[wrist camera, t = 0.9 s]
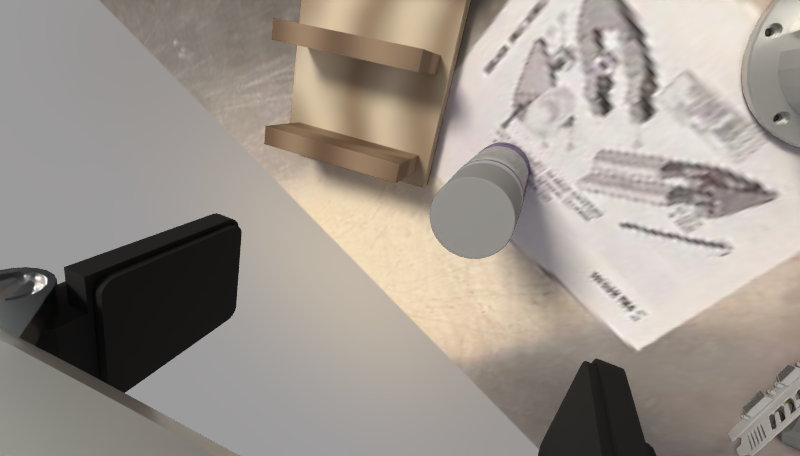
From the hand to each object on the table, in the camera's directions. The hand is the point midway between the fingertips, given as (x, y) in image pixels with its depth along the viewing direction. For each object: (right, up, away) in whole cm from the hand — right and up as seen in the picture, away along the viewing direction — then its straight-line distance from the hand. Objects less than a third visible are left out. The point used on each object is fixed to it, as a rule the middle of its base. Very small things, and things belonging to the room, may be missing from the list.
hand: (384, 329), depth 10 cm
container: (+9, +8, +24) cm, 27 cm away
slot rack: (-2, +18, +24) cm, 30 cm away
